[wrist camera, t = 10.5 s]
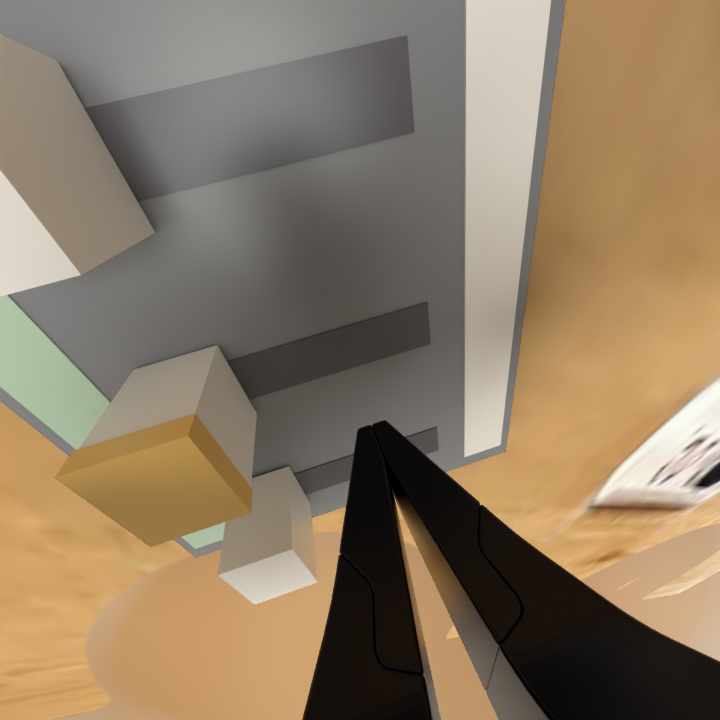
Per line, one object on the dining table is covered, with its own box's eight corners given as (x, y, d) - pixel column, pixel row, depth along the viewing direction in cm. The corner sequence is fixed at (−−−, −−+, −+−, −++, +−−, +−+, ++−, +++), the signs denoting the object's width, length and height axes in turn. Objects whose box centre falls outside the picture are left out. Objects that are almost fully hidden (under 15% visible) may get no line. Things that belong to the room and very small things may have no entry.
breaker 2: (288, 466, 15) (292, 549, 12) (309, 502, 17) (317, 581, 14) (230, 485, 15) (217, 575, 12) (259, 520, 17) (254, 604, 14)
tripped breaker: (217, 343, 11) (188, 435, 7) (258, 414, 13) (251, 513, 9) (131, 368, 11) (54, 477, 7) (186, 436, 13) (150, 546, 9)
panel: (539, -118, 8) (591, -175, 6) (491, 434, 20) (506, 452, 19) (-328, 49, 6) (-485, 19, 5) (201, 532, 19) (195, 558, 18)
